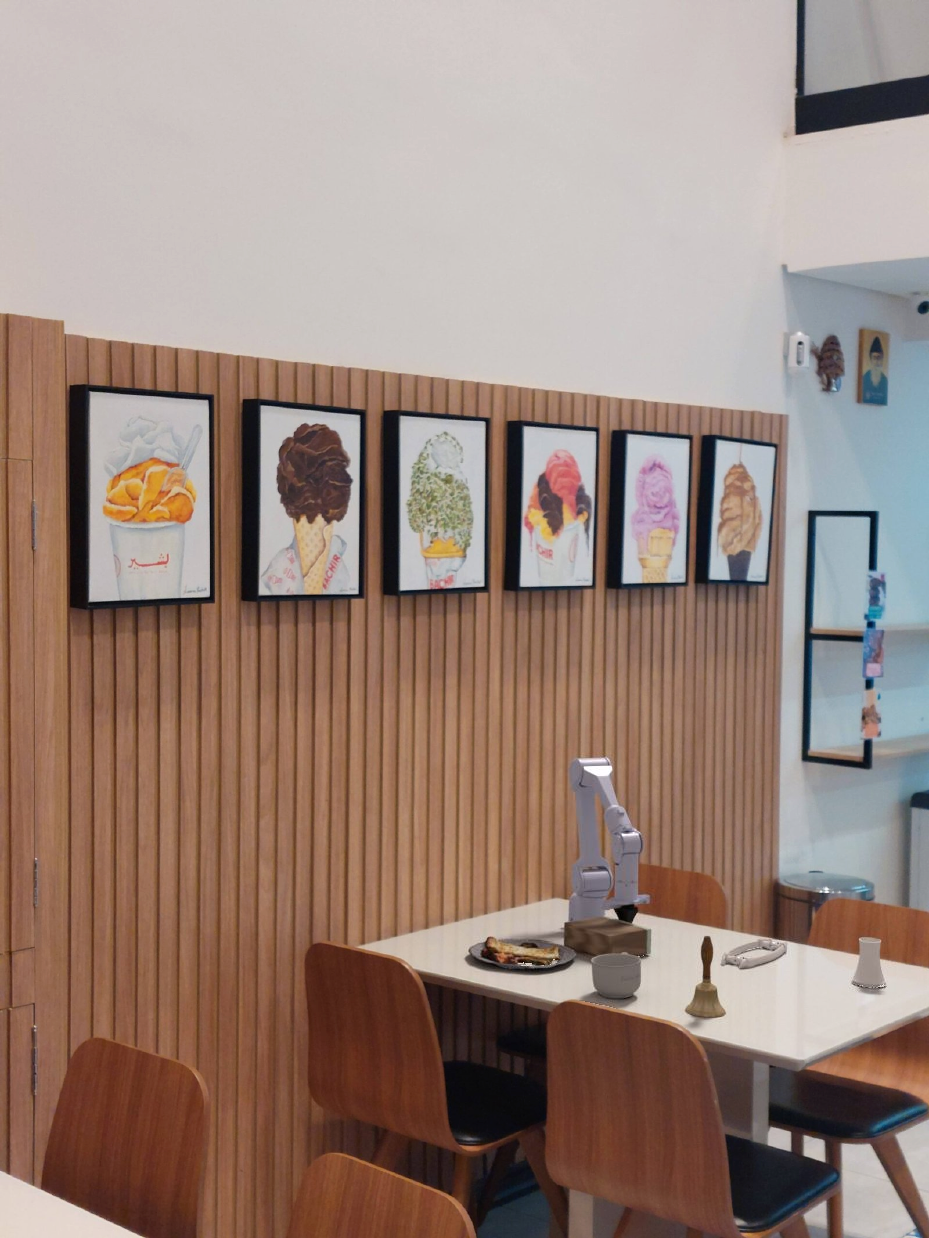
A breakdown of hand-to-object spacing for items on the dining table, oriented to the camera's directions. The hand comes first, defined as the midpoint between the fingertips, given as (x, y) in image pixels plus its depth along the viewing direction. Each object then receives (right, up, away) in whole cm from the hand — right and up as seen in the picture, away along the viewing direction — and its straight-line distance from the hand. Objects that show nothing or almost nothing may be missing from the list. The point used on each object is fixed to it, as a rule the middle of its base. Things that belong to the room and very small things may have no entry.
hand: (625, 935), depth 353 cm
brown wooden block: (-6, -3, -6) cm, 9 cm away
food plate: (-26, -3, -14) cm, 30 cm away
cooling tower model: (+52, -5, -29) cm, 60 cm away
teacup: (-6, -4, -41) cm, 41 cm away
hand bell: (+11, -5, -53) cm, 54 cm away
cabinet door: (0, -2, -2) cm, 3 cm away
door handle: (+31, -4, -8) cm, 32 cm away
